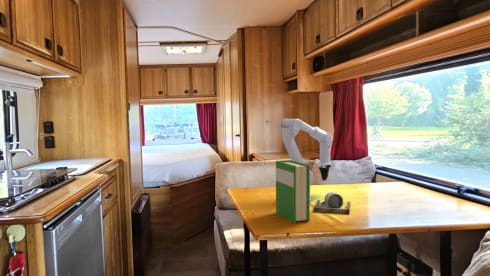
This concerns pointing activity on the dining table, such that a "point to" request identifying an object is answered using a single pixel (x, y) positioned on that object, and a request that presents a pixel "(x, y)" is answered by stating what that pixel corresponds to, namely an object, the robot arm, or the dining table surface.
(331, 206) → the ceramic mug
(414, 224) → the dining table surface
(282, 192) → the hardback book
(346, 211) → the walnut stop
